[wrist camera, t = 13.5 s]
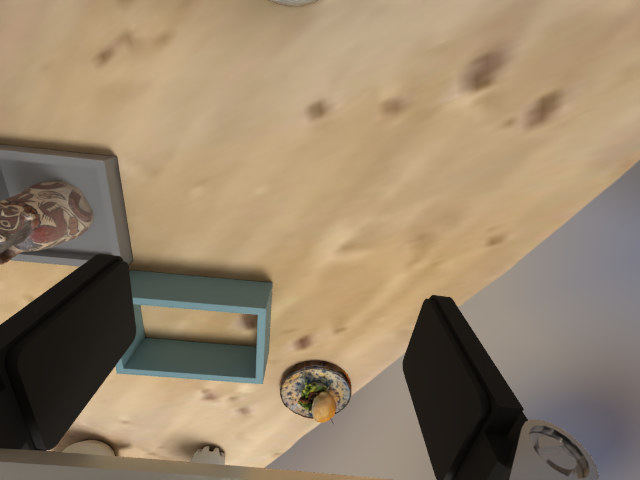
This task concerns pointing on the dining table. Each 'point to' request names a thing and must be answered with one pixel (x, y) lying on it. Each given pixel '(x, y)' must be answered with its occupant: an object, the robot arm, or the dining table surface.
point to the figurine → (42, 218)
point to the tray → (97, 187)
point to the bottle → (208, 456)
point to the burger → (316, 390)
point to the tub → (198, 356)
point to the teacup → (90, 448)
